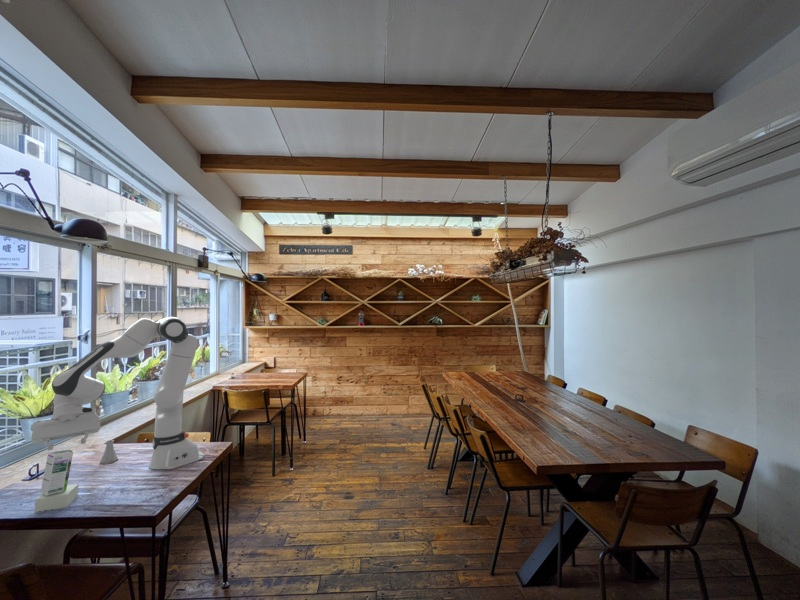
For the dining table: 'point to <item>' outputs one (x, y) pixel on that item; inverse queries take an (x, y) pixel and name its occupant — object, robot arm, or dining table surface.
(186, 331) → the robot arm
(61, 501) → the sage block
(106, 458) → the flask
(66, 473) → the syrup box
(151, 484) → the dining table surface
